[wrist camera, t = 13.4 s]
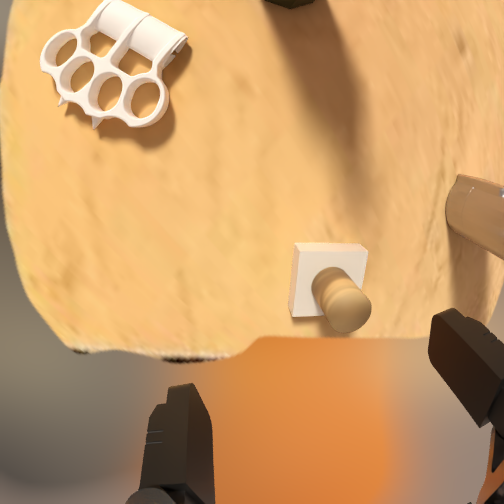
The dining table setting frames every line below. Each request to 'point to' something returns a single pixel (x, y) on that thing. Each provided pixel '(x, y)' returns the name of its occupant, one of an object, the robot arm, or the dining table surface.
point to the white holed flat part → (114, 60)
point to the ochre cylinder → (340, 300)
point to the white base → (312, 262)
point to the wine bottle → (291, 3)
